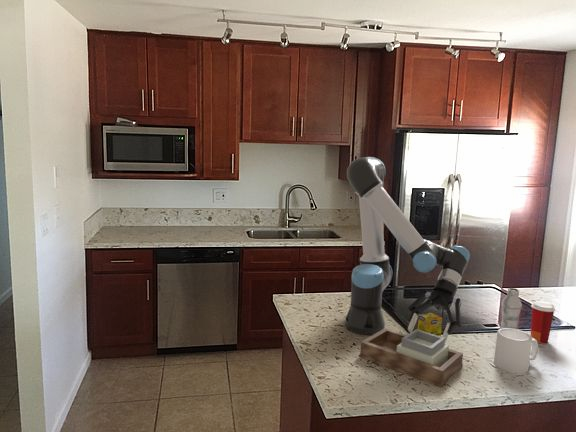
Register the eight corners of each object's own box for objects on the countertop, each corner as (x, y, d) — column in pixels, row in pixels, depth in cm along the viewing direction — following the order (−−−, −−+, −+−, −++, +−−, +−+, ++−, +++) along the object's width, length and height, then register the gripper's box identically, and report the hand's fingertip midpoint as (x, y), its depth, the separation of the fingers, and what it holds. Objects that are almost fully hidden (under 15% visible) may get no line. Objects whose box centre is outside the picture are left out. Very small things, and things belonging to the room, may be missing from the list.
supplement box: (427, 350, 161) (430, 320, 159) (415, 343, 166) (418, 314, 164) (440, 347, 163) (443, 317, 162) (428, 340, 169) (430, 311, 167)
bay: (359, 356, 155) (360, 342, 154) (384, 340, 167) (385, 327, 167) (440, 387, 137) (441, 371, 136) (462, 367, 149) (463, 352, 149)
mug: (522, 355, 159) (525, 326, 157) (544, 370, 149) (548, 339, 147) (487, 359, 155) (490, 329, 154) (507, 374, 146) (511, 342, 144)
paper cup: (550, 338, 173) (554, 302, 171) (551, 346, 166) (556, 309, 164) (526, 334, 176) (530, 299, 174) (527, 342, 169) (531, 305, 167)
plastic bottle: (520, 347, 165) (526, 293, 162) (499, 345, 166) (505, 291, 163) (515, 339, 171) (521, 287, 168) (495, 337, 173) (501, 285, 169)
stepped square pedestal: (395, 362, 149) (397, 338, 147) (412, 350, 158) (414, 327, 156) (431, 375, 141) (433, 350, 140) (447, 362, 150) (449, 338, 149)
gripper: (482, 297, 166) (462, 351, 157) (419, 282, 181) (397, 330, 172) (478, 286, 161) (457, 341, 152) (414, 271, 176) (391, 321, 167)
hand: (425, 335), depth 162 cm, fingers open, 12 cm apart
